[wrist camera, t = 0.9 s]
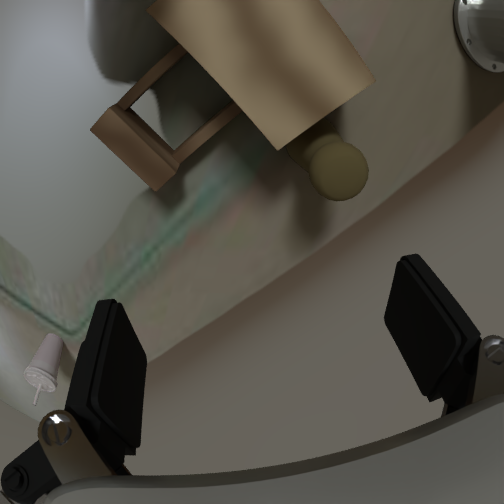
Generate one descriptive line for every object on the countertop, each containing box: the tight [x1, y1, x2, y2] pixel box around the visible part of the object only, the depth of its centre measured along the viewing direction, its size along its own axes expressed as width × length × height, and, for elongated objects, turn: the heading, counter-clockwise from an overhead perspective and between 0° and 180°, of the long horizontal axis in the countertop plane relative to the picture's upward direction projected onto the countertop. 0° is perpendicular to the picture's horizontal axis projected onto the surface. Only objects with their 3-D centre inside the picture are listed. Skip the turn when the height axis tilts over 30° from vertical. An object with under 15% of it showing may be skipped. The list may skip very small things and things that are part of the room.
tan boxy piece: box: [146, 0, 376, 151], centre depth 24 cm, size 10×16×8 cm, turn 39°
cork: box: [286, 118, 369, 201], centre depth 29 cm, size 6×6×11 cm
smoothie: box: [24, 333, 63, 406], centre depth 44 cm, size 6×6×14 cm
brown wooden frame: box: [90, 43, 243, 192], centre depth 27 cm, size 21×9×4 cm, turn 129°
